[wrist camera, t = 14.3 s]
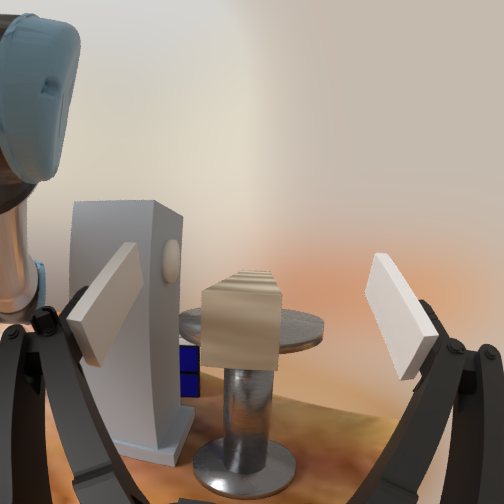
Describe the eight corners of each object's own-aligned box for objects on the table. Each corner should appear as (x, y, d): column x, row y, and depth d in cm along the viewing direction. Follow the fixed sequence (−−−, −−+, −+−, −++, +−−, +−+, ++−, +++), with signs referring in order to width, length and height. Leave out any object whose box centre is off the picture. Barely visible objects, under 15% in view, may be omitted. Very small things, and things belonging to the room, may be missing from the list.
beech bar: (277, 371, 15) (282, 295, 15) (200, 365, 15) (201, 291, 15) (269, 299, 42) (270, 271, 43) (241, 298, 43) (242, 270, 43)
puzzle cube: (143, 394, 45) (140, 342, 46) (152, 374, 55) (150, 328, 55) (200, 398, 47) (199, 346, 47) (200, 377, 57) (200, 331, 57)
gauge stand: (174, 467, 27) (171, 199, 28) (74, 440, 27) (58, 201, 28) (194, 417, 40) (198, 217, 40) (113, 402, 40) (109, 216, 41)
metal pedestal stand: (163, 457, 28) (153, 310, 29) (247, 427, 38) (253, 302, 38) (240, 524, 18) (248, 347, 19) (326, 466, 28) (350, 319, 28)
